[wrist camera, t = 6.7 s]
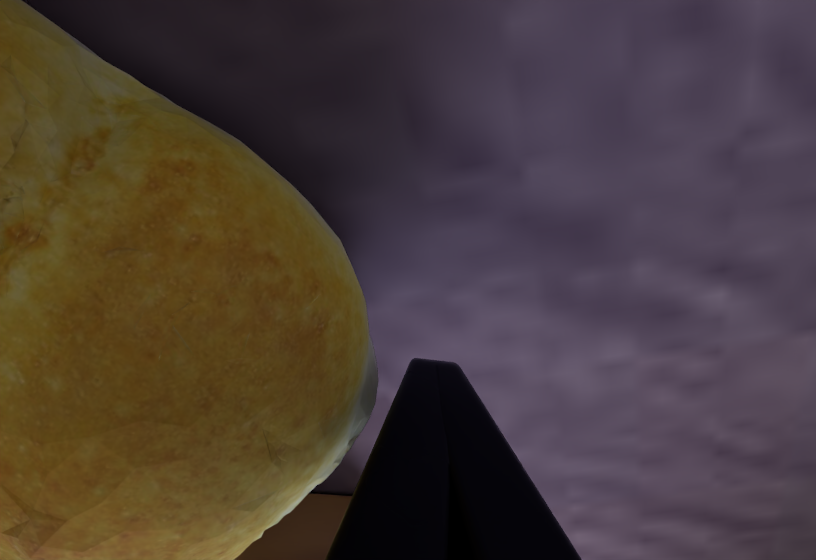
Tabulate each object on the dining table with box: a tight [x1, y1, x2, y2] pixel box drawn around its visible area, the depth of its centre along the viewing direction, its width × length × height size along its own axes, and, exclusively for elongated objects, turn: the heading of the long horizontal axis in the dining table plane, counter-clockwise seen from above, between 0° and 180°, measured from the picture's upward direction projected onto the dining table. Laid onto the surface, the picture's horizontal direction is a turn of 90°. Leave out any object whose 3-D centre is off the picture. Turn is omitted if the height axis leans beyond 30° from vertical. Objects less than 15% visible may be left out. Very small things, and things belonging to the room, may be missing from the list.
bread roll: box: [0, 0, 378, 560], centre depth 7 cm, size 8×9×4 cm
